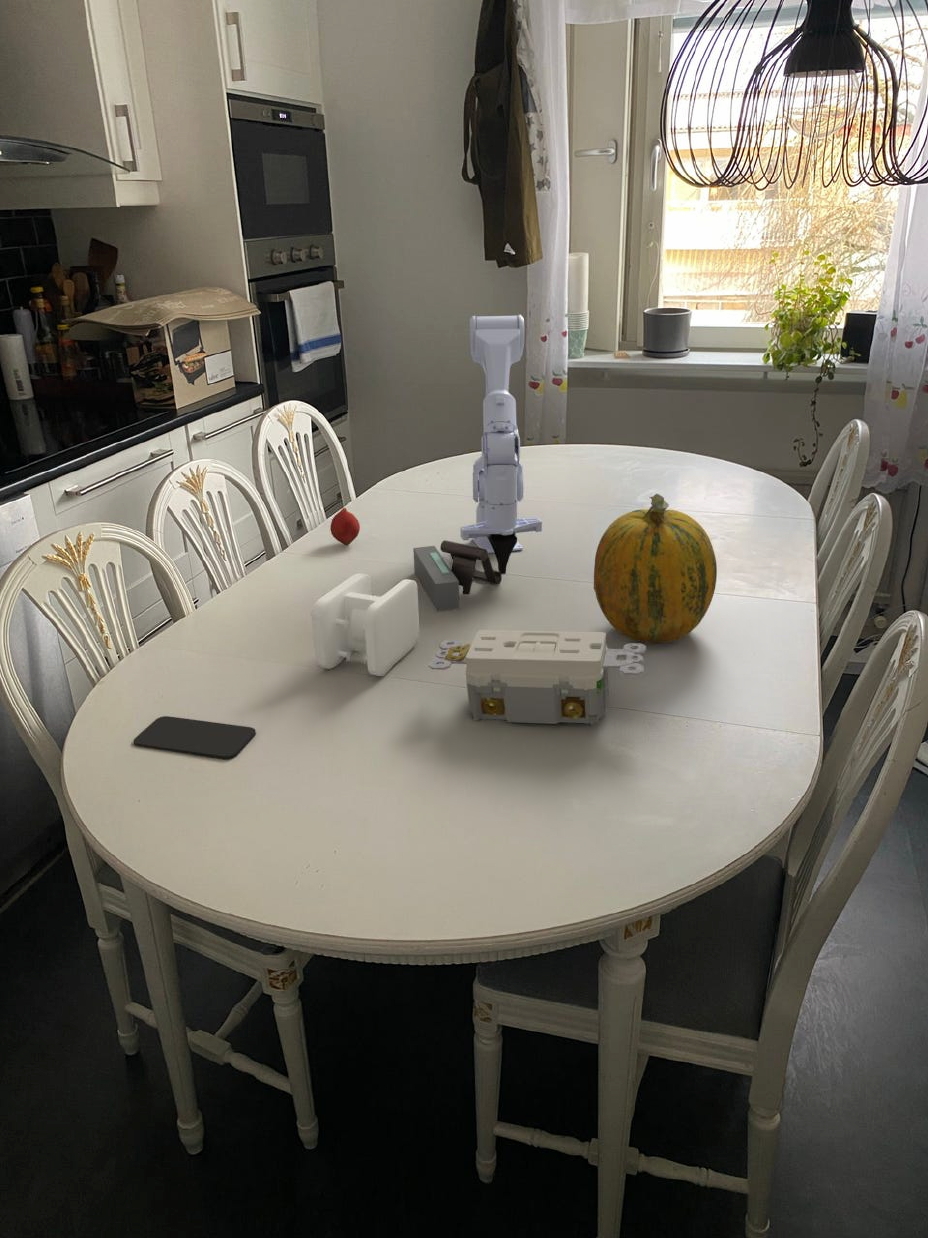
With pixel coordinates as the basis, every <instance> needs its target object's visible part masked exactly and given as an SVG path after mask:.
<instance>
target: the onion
mask: <svg viewBox="0 0 928 1238" xmlns="http://www.w3.org/2000/svg"><path fill="white" fill-rule="evenodd" d="M329 528H330V530H329V531H330V533H331V535H332V537H333V538H334V539H336V541H338V542H339V543H341V544H342V545H344V546H350V544H351V543H352V542H353V541H354V540H355V539H356V538H357V537H358V535H359V533H360V532H361V531H360V528H361V526H360V522H359V520H358V519H357V517H356V516H355V515H354V514H353V513H351V512H349V511H348V509H347V507H342V508H341V510H340V511H339V512H338V513H336V514H335V515H334V516H333V518H332V519H331V523H330V527H329Z"/></svg>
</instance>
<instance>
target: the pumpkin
mask: <svg viewBox="0 0 928 1238" xmlns="http://www.w3.org/2000/svg"><path fill="white" fill-rule="evenodd" d="M649 498H650V499H651V502H650V505H651V506H650V507H649V508H642V509H637V510H631V511H632V512H630V511H629V512H627V513H625V514H622V515H621V516H619V517H618V518H616V519H615V520H614V521H613V522H611V524H610V525H609V526H608V527H607V528H606V530H605V531H604V532H603V534H602V536H601V538H600V540H599V543H598V545H597V548H596V552H595V557H594V566H593V567H594V569H593V589H594V592H595V597H596V600H597V603H598V606H599V608H600V610H601V612H602V614H603V616H604V617H605V619H606V620H607V622H608V623H609V624H610V625H611V626H612V627H613V629H615V630H616V631H617V632H619V633H620V635H623V636H624V637H626V638H628V639H631V640H633V641H637V642H641V643H642V642H643V643H649V644H651V643H653V644H665V643H666V644H667V643H670V642H674V641H677V640H679V639H681V638H684V637H685V636H687V635H689V634H690V633H691V632H692V631H693V630H695V629H696V628H697V626H699V624H700V623H701V622H702V621H703V619H704V617H705V616H706V614H707V611H708V610H709V608H710V606H711V602H712V600H713V598H714V594H715V592H716V591H715V590H716V584H717V573H718V569H717V567H718V566H717V565H718V564H717V558H716V554H715V551H714V547H713V544H712V541H711V540H710V537H709V535H708V533H707V532H706V531H705V529H704V528H703V526H701V524H700V523H698V522H697V521H696V520H695V519H694V518H693V517H692V516H690V515H688V514H686V513H684V512H683V511H679V510H675V509H668V507H669V506H670V504H669V503H668V502H667V501H665V498H664V496H662V495H661V494H659V493H655V494H654V495H653V496H649Z"/></svg>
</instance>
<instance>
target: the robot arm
mask: <svg viewBox="0 0 928 1238" xmlns="http://www.w3.org/2000/svg"><path fill="white" fill-rule="evenodd" d="M469 338H470V345H469V346H470V350H471V351H470V353H471V355H470V356H471V357H472V362H474V363H476V364H479V365H481V366H482V369H483V372H484V375H485V397H484V399H483V402H482V417H483V420H482V421H483V423H482V424H483V435H482V436H481V456H480V457H478V458H477V459H476V460H475V461H474V463H473V465H472V500H473V501H474V502H475V503H478V504H477V506H476V509H475V512H476V519H475V520H476V521H475V522H476V523H474V524H469V525H464V526H460V530H459V531H460V538H461V539H462V540H463V541H469V540H470V539H472V540H473V542H474V543H475V544H476V546H477V547H478V548H483V549H486V550H487V552H488V555H489V554H494V555H495V558H496V562H497V570H498V572H501V575H506V574H507V567H508V566H507V565H508V563H509V559H510V557H511V555H512V552H513V551H522V550H523V549H524V548H523V546H522V544H520V542H519V541H518V537H517V534H519V533H521V534H522V533H528V532H536V533H541V532H542V531H543V530H542V529H543V528H542V527H543V521H542V520H541V519H540V518H538V517H536V518H518V502H519V503H520V502H522V500H523V499H524V471H523V463H522V461H521V438H520V434H519V429H518V425H517V402H516V401H517V400H516V399H515V397H514V396H513V395H512V394H511V393H510V392H509V387H510V386H509V385H510V372H511V366H512V365H513V364H515V363H518V362H519V361H521V358H522V356H523V351H524V347H525V319H524V317H523V316H522V314H517V315H497V316H496V315H494V316H493V315H490V316H482V315H481V316H476V315H473V316H471V318H470V319H469Z"/></svg>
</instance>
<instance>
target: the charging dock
mask: <svg viewBox="0 0 928 1238" xmlns="http://www.w3.org/2000/svg"><path fill="white" fill-rule="evenodd" d="M412 551H413V567H414V568H413V571H414V575H415V577H416V578H417V580H418V582H419V584H420V585H421V587H422V589H423V590H424V592H425V594H426V595H427V597H428V598H429V601H430V602H431V604H432V605H433V606H432V607H435V608H434V609H435V611H436V612H440V611H449V610H458V609H460V585H459V581H458V580H457V578H456V577H455V575H454V574H453V572H452V571H451V567H450V566H449V564H448V563H447V562H446V560H445V558H444V557H443V556H442V555H441V553H440V551H439V550H438V549H437V547H436V546H435V545H428V546H421V547H420V546H419V547H413V550H412Z"/></svg>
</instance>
